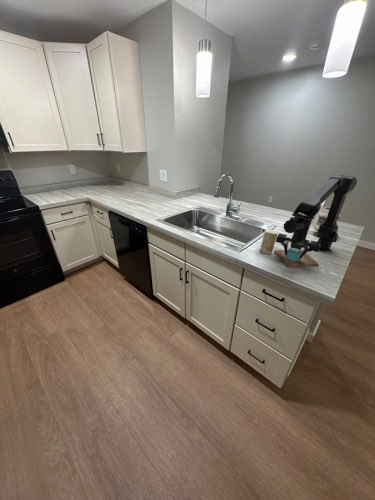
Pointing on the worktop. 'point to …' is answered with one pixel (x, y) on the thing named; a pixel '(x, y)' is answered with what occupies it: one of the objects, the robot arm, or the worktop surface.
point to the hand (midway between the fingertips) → (292, 257)
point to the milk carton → (317, 215)
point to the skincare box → (268, 241)
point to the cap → (293, 254)
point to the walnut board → (304, 261)
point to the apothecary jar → (322, 219)
